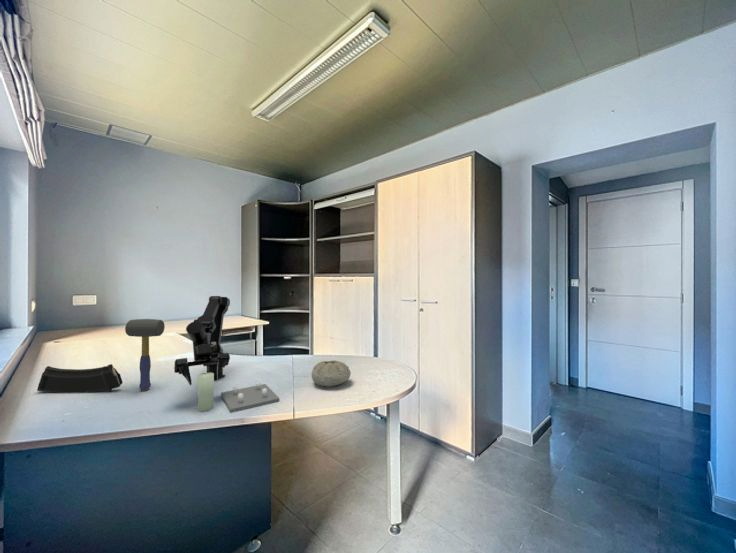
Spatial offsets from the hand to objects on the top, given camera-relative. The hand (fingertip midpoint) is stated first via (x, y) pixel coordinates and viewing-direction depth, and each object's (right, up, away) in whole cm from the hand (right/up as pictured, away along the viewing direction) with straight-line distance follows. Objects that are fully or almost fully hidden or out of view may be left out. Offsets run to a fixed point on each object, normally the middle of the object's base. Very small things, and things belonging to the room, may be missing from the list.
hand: (204, 382), depth 116 cm
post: (+1, -9, -1) cm, 9 cm away
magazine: (-57, -8, +12) cm, 59 cm away
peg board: (+14, -9, +8) cm, 18 cm away
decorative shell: (+44, -10, +27) cm, 52 cm away
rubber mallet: (-33, -8, +14) cm, 37 cm away
